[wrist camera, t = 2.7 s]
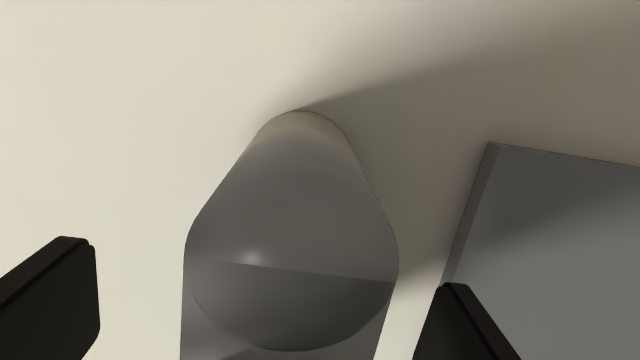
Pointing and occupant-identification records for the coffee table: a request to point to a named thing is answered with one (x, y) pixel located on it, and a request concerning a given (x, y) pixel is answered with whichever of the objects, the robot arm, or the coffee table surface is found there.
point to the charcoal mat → (554, 253)
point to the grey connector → (289, 253)
